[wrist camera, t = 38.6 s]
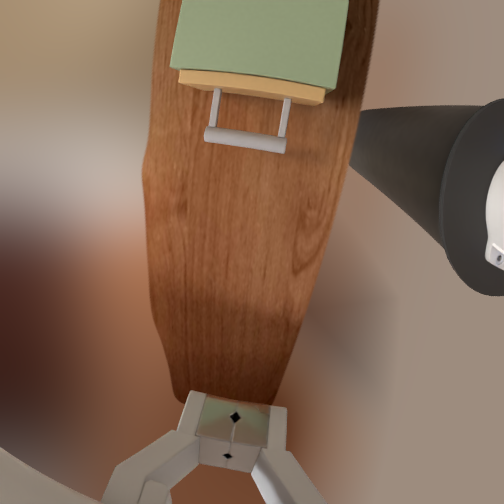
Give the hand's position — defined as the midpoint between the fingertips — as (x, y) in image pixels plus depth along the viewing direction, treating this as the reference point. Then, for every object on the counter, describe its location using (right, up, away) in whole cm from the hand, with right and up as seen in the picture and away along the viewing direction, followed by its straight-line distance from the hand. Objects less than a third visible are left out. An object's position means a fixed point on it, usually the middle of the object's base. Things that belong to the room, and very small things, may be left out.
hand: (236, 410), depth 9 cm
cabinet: (+3, +28, +17) cm, 33 cm away
